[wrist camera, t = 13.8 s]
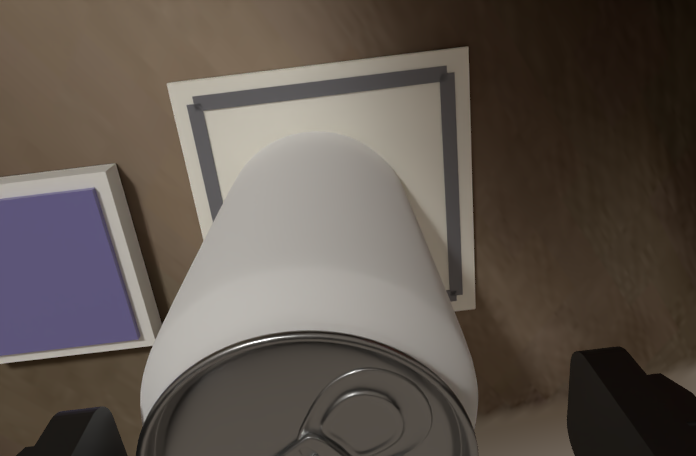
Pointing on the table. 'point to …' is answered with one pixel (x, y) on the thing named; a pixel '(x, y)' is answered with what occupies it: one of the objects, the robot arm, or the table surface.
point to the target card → (353, 121)
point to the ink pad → (71, 267)
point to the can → (311, 321)
